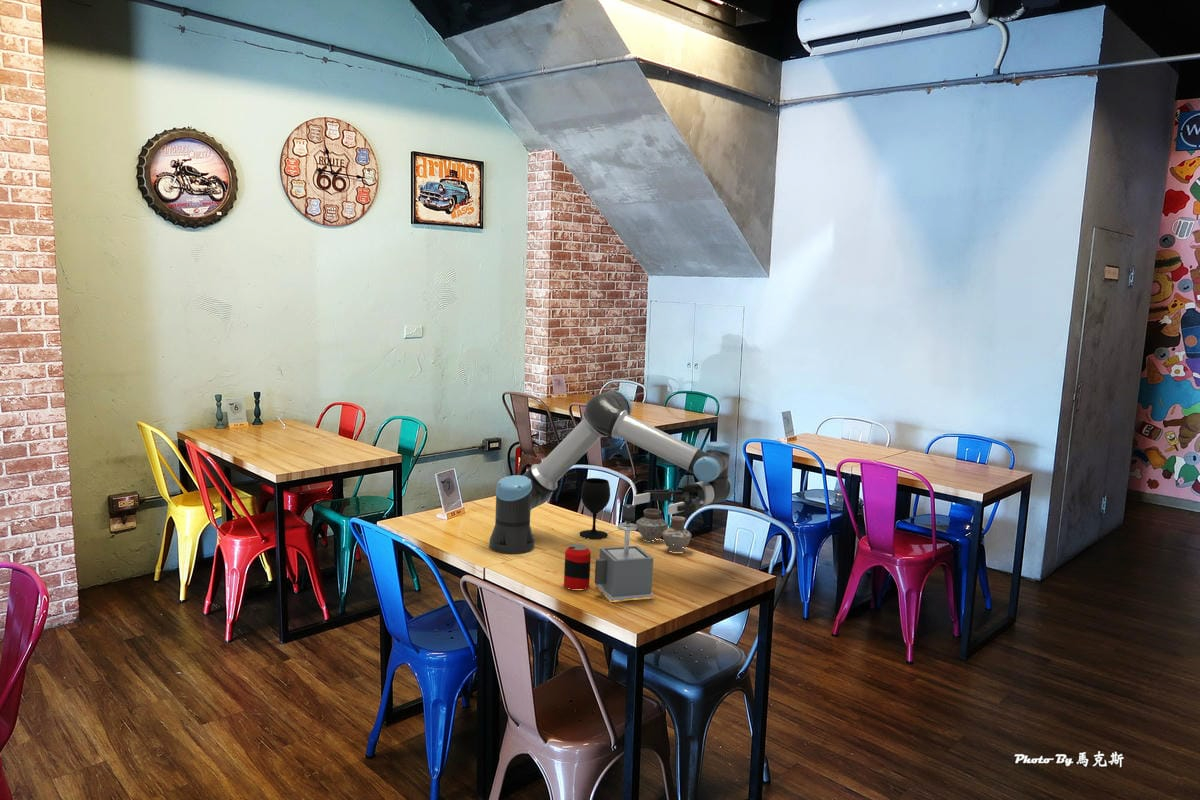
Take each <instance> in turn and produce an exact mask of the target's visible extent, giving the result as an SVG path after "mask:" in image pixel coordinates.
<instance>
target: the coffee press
mask: <svg viewBox="0 0 1200 800" xmlns="http://www.w3.org/2000/svg"><path fill="white" fill-rule="evenodd" d="M630 548H635V549H636V550H637V551H639V552H640V553H641V554H642V555H643V556H645V557H646V558H633V559H619V560H616V559H615V558H614V557H613V556H612V555H610V554H609V553H608V552H607V550H614V549H624V545H623V546H610V547H609V546H608V547H599V554H598V556H599V557H598V558H596V559H595V563H594V564H595V568H594V584H595V587H596V586H597V587H598V588H599V589H600V590H601V591H602V592H603V593H604V594H605V595H606V596H607V598H609V599H610V600H611V601H614V600H624V599H633V598H644V597H653V598H654V596H655V595H654V593H653V592H652V589H653V587H652V586H653V575H654V574H653V570H654V558H653V557H652V556H651V555H650V554H649V553H647V552H646V551H645V550H644V549H642V547H640V546H638V545H629V549H630ZM607 598H606V599H607Z"/></svg>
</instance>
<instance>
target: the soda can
mask: <svg viewBox="0 0 1200 800" xmlns="http://www.w3.org/2000/svg"><path fill="white" fill-rule="evenodd" d="M564 551H565V552H564V571H563V573H564V575H563V586H564V587H565V589H567V588H570V589H585V588H587V589H589V587H590V577H591V561H592V560H591V559H592V558H591V557H592V556H591V555H592V552H591V550H590V549H589V547H588V546H587V545H585V544H581V543H577V544H570V545H569V546H568V547H567V548H566V549H565V550H564ZM585 590H586V589H585Z"/></svg>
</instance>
